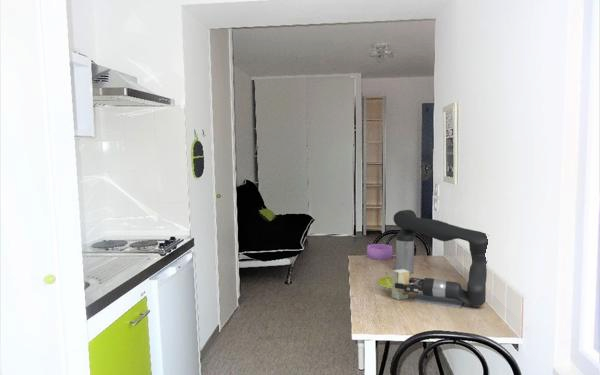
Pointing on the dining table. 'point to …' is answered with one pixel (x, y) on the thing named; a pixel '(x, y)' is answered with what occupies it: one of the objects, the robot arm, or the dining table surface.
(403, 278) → the skincare box
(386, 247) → the purple basket
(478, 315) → the dining table surface
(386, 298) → the dining table surface
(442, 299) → the mat
